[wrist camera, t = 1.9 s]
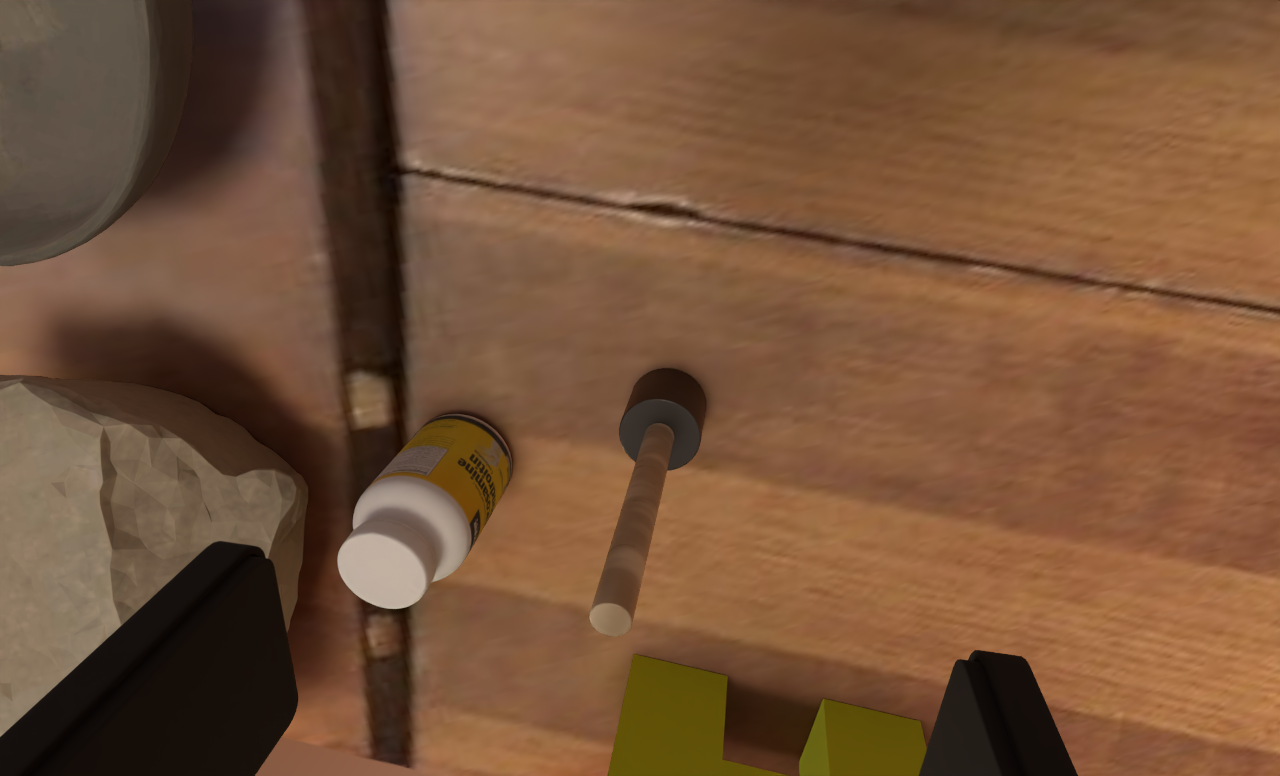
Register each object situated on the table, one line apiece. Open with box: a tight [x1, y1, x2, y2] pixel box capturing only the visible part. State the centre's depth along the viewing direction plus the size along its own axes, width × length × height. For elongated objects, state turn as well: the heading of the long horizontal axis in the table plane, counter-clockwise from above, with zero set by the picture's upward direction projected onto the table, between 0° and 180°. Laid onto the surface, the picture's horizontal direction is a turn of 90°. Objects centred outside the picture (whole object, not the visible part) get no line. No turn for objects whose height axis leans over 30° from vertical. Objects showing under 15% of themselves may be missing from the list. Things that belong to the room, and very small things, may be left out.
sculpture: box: [0, 375, 308, 737], centre depth 46 cm, size 26×27×30 cm
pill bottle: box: [337, 414, 512, 609], centre depth 42 cm, size 6×6×12 cm
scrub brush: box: [589, 369, 706, 636], centre depth 35 cm, size 4×4×18 cm
